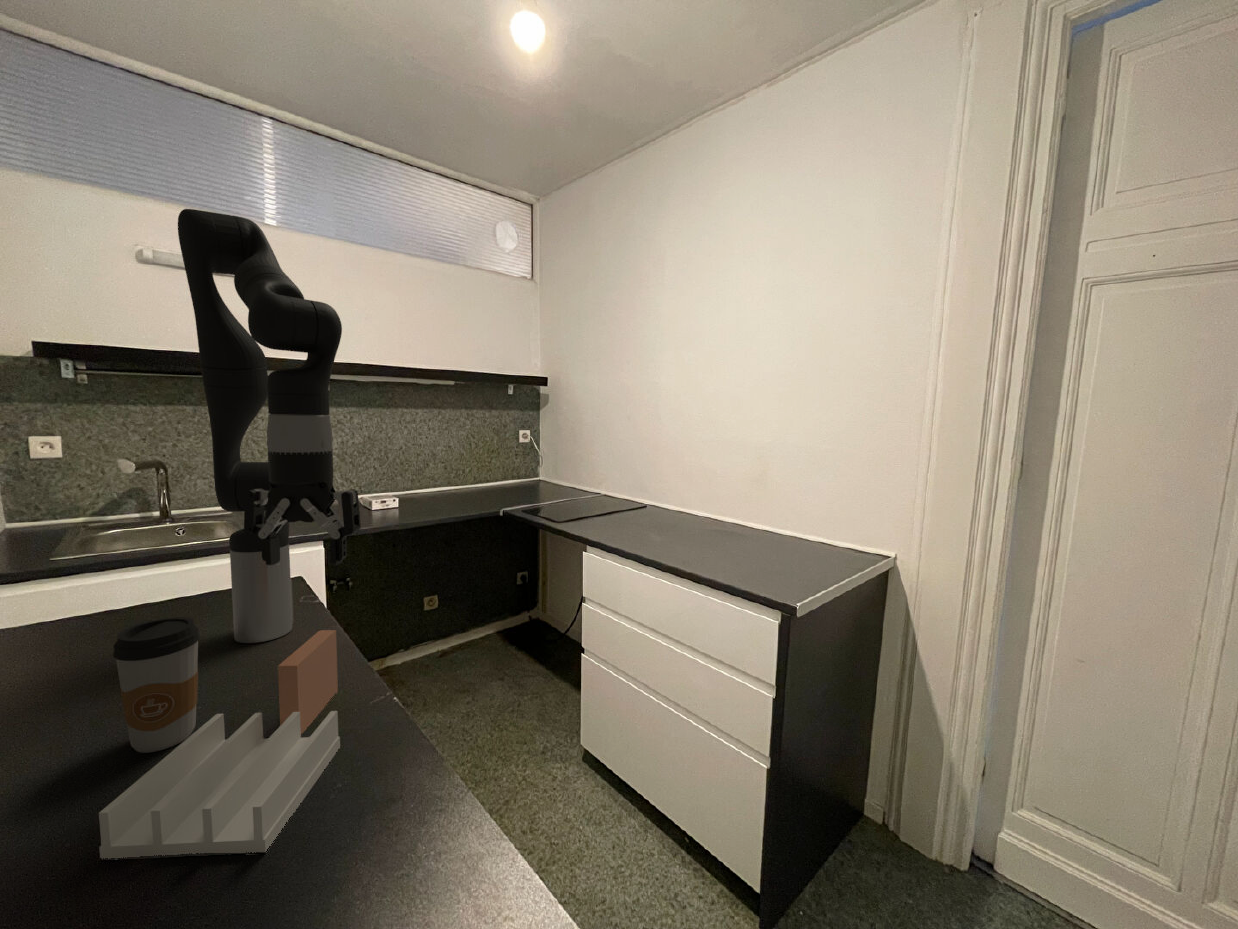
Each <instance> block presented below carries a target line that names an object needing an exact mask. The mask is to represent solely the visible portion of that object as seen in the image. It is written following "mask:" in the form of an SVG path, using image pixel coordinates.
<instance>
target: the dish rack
mask: <svg viewBox="0 0 1238 929" xmlns="http://www.w3.org/2000/svg"><path fill="white" fill-rule="evenodd" d="M338 712H339V711H338V710H331V711H329V713H328V714H327V715H326V717H325V718H324V719H323V720H322V721H321V723H320V724H319V725H318V727H317V728H316V729H315V730H314V731H313V733H312V734H311V735H310V736H308V737H307V736H306V737H302V735H301V724H300V712H293V713H292V714H291V715H290V716H289V717H288V718H287V719H286V720H285V721H284V723H283V724H282V725H281V726H280V725H279V727H278V728H277V729H276V730H275V731H274V732H273V733H272V734H271V735H270V736H269V738H264V726H263V712H255V713H253V714H252V715H251V716H250V718H248V719H247V720H246V721H245V722H244V723H243V724H242V725H241V726H240V727H239V728H238V729H236V731H234V733H232V734H231V735H230V736H229V737H228V738H227V739H226V737H225V736H226V735H225V731H226V730H225V718H224V716H225V714H224V713H216V714H214V715H213V716H212V717H211V718H210V719H209V720H207V721H206V722H205V723H204V724H203V725H202V726H200V727H199V728H198V729H197V730H196V731H194V732H192V733H191V735H190V736H189V737H188V738H186V739H185V740H183V741H182V742H181V743H179V745H178V746H177V747H175V748H174V749H173V750H172V751H171V752H169V754H167V755H166V756H165V757H163V759H161V760H160V761H158V763H156V764H155V765H154V766H153V767H152V768H150V769H149V770H148V771H147V772H146V773H144V774H143V775H141V777H140V778H138V779H137V780H136V781H135V782H134V783H132V785H130V786H129V787H128V788H126V790H124V791H123V792H122V793H121V794H119V796H117V797H115V799H113V801H112V802H110V803H109V804H108V805H106V806H105V807H104V808H103V809H101V811H99V812H98V821H99V830H100V831H99V832H100V845H99V848H98V849H99V859H100V858H102V859H103V858H104V859H105V858H108V859H109V858H110V859H111V858H123V857H124V858H125V857H126V858H127V857H140V856H154V855H155V856H156V855H157V856H158V855H162V856H163V855H164V856H165V855H178V854H179V855H180V854H189V853H190V854H191V853H192V854H196V853H199V854H200V853H202V854H203V853H246V852H247V853H248V852H249V853H250V852H252V853H254V852H255V853H256V852H266V851H267V849H268V848H269V846H271V847H272V845H273V844H274V842H275V841H276V840H275V839H277V838H278V837H279V835H280V834H281V833H282V831H283V830H282V828H283V829H284V828H285V827H286V825H287V824H286V822H287V823H288V822H289V821H290V820H289V818H290V817H291V816H292V817H293V816H294V814H295V812H296V811H297V810H298V808H299V807H300V805H301V804H302V803H303V801H304V800H305V798H306V797H307V795H308V794H309V792H310V791H311V790H312V788H313V787H314V786H315V784H316V782H317V781H318V780H319V778H320V777H321V776H322V774H323V773H324V771H325V770H324V769H326V768H327V767H328V765H329V764H330V763H329V762H331V761H332V760H333V758H334V757H335V755H336V754H337V753H338V751H339V750H340V748H341V736H339V718H338V716H339V713H338ZM338 749H339V750H338ZM336 752H337V753H336ZM300 803H301V804H300ZM296 809H297V810H296ZM293 813H294V814H293ZM292 817H291V818H292ZM291 818H290V819H291ZM288 820H289V821H288ZM285 824H286V825H285ZM284 826H285V827H284ZM281 830H282V831H281ZM279 833H280V834H279ZM278 834H279V835H278ZM277 836H278V837H277ZM276 837H277V838H276ZM274 840H275V841H274ZM273 841H274V842H273ZM272 843H273V844H272ZM271 844H272V845H271ZM269 849H270V848H269ZM269 849H268V850H269ZM267 852H268V851H267ZM267 852H266V853H267Z"/></svg>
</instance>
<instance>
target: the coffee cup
mask: <svg viewBox="0 0 1238 929" xmlns="http://www.w3.org/2000/svg"><path fill="white" fill-rule="evenodd" d="M199 630H200V629H199V627H198V626H197V625H196V624H195V621H194V619H193V618H189V617H185V616H183V617H182V616H176V617H175V616H174V617H165V618H157V619H153V620H149V621H144V622H142V623H139V624H135V625H132V626H130V627H128V628H126V629H123V630H122V631H120V632H119V634H117V639H116V642H115V643H114V644H113V653H112V656H113V657H112V658H114V659H115V662H116V667H117V668H116V669H117V672H118V673H117V675H118V679H119V685H120V688H119V690H120V696H121V697H120V698H121V702H122V708H123V714H124V720H125V723H126V725H127V726H126V727H127V730H128V732H127V733H128V737H129V738H128V739H129V742H130V743H129V745H130V746H131V748H133V749H134V750H135V751H136V752H137V753H154V752H158V751H162V750H165V749H169V748H171V747H174V746H177V745H178V744H181V743H183V742H184V741H185V740H186V739H187V738H189V737H190V736H191V735H192V734H193V733H194V729H195V727H196V726H197V725H196V722H197V703H198V689H199V688H198V687H199V686H198V685H199V683H198V682H199V668H198V661H199V660H198V657H199V655H198V652H199V641H200V638H201V635H200V633H199Z"/></svg>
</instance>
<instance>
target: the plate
mask: <svg viewBox="0 0 1238 929" xmlns="http://www.w3.org/2000/svg"><path fill="white" fill-rule="evenodd" d="M337 649H338V646H337V630H336V629H333V630H332V629H328V630H327V629H322V630H321V629H320V630H319V631H317V632H316V633H315V634H314V635H313V636H311V637H310V638H309V639H308V640H307V641H305V642H304V643H303V644H302V645H300V647H299V648H297V649H296V650H295V651H293V652H292V653H291V654H290V655H289V656H288V657H287V658H285V659H284V660H283V661H282V662H280V664H279V665H278V666H277V675H278V678H277V679H278V701H279V702H278V703H279V724H280V725H279V727H280V726H281V725H282V724H283V723H284V721H285V720H286V719H287V718H288V717H289V716H290V715H291V714H292V713H293V712H300V724H301V734H302V735H303V734H304V733H305V731H306V730H307V729H308V728H309V727H310V725H311V724H312V723H313V722H314V721H315V719H316V718H317V717H318V716H319V715H320V714H321V712H322V711H323V710H324V709H325V708H326V706H327V705H328V704H329V703H330V702H331V700H332V699H333V698H334V697H335V696H336V695H335V693H336V694H338V692H339V691H338V690H339V689H338V688H339V686H338V685H339V682H338V680H339V679H338V651H337ZM334 695H335V696H334ZM333 696H334V697H333ZM332 697H333V698H332ZM331 698H332V699H331ZM330 699H331V700H330ZM329 701H330V702H329ZM328 702H329V703H328ZM327 703H328V704H327ZM325 705H326V706H325ZM324 707H325V708H324ZM318 714H319V715H318ZM313 720H314V721H313ZM307 727H308V728H307Z"/></svg>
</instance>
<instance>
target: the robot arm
mask: <svg viewBox="0 0 1238 929" xmlns="http://www.w3.org/2000/svg"><path fill="white" fill-rule="evenodd" d="M177 234H178V235H177V236H178V242H179V246H180V251H181V258H182V261H183V264H184V270H185V274H186V279H187V280H186V281H187V284H188V288H189V293H190V298H191V302H192V306H193V308H192V309H193V313H194V319H195V320H194V321H195V329H196V335H197V337H196V338H197V343H198V344H197V346H198V354H199V355H198V356H199V363H200V369H201V371H200V372H201V375H202V376H201V378H202V384H203V389H204V394H205V400H206V405H207V411H208V417H209V423H210V432H211V442H212V443H211V444H212V460H213V461H212V463H213V465H212V466H213V479H214V491H215V497H216V499H217V502H218V504H219V507H220V508H221V509H222V510H224V511H226V512H231V513H233V512H234V513H242V512H244V514H243V517H244V519H243V528H241V529H239V530H236V531H234V532H232V533H231V534H230V535H229V541H228V542H229V544H228V545H229V561H230V564H229V565H230V579H231V596H232V617H233V618H232V620H233V638H234V641H236V642H237V643H242V644H257V643H263V642H267V641H272V640H275V639H278V638H281V637H283V636H285V635H287V634H288V633H290V632H291V631H292V629H293V624H294V603H293V602H294V601H293V600H294V598H293V579H292V578H291V561H290V560H291V558H290V523H295V522H302V523H314V522H316V523H317V525H318V526H319V527H320V528H323V529H324V530H325V532H327V534H328V535H329V536H330V537H331V539H329V547H330V548H329V553H330V565H331V566H338V565H339V564H342V562H343V561H344V560H345V559H346V558H347V556H348V551H347V549H348V546H347V544H348V543H347V539H348V538H347V537H348V535H349V536H350V535H352V534H354V533H356V532H359V531H360V530H361V528H362V525H361V524H362V523H361V514H360V513H361V512H360V500H359V492H358V491H357V489H355V488H354V489H350V490H349V489H348V490H347V491H336V490H335V488H334V459H333V458H334V455H333V454H334V452H333V430H332V424H331V417H330V390H329V388H330V382H331V381H330V380H331V376H332V371H333V368H334V363H335V359H336V357H337V352H338V349H339V346H340V344H341V343H340V342H341V339H342V335H343V334H342V332H343V326H342V321H341V318H340V316H339V314H338V312H337V311H336V309H335V308H333V307H332V306H331V305H330V304H328V303H326V302H323V301H317V300H311V299H306V298H305V297H304V295H303V293H302V291H301V290H300V288H299V287H298V286H297V285H296V284H295V282H293V280H292V279H291V278H290V277H289V276H288V275H287V274H286V273H285V272H284V270H283V269H282V268H281V266H280V264H279V261H278V258H277V257H276V255H275V252H274V250H273V248H272V246H271V244H270V243H269V240H268V239H267V237H266V235H265V233H264V231H263V230H262V228H261V227H260V226H259V224H257V223H255V222H254V220H251V219H249V218H246V217H243V216H236V215H231V214H226V213H219V212H213V211H207V210H201V209H194V208H184V209H182V210H180V213H179V214H178V216H177ZM213 274H219V275H220V274H221V275H231V276H234V277H233V284H234V288H235V291H236V293H237V295H238V297H239V298H240V300H241V301H242V302H243V304H244V305H245V306H246V308H247V309H248V316H247V323H248V324H247V325H248V331H249V332H248V331H247V329H246V328H245V327H244V326H243V325H242V323H240V322H239V320H238V319H237V318H236V317H235V316H234V314H233V313H232V311H231V310H230V309H229V307H228V306H227V305H226V303H225V301H224V300H223V298H222V296H221V295H220V292H219V291H218V290H219V289H218V288H217V284H216V282H215V279H214V275H213ZM260 345H261V346H263V347H264V348H267V349H271V350H276V351H287V352H298V353H306V354H307V355H306V356H307V357H306V359H305V361H304V363H303V364H302V365H301V366H300V367H293V368H284V369H282V368H281V369H276V370H274V371H272V372H270V373H269V374H268V367H267V359H266V355H265V354H264V351H263V349H262V348H261V346H260ZM266 401H267V405H268V406H267V407H268V408H267V410H268V411H267V412H268V420H267V428H266V438H267V439H266V446H267V461H246V462H245V461H244V462H243V461H242V460H241V446H242V442H243V439H244V436H245V434H246V432H247V431H248V429H249V427H250V425H251V424H252V422H253V421H254V420H255V418H256V417H257V415H258V414H259V412H260V411H261V409H262V408H263V407H264V405H265V403H266ZM334 502H337V504H338V506H339V507H341V510H342V520H343V522H342V521H341V519H340V515H339V514H338V513H337V512H336V510H334V508H333V507H332V506H333V504H334Z"/></svg>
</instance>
